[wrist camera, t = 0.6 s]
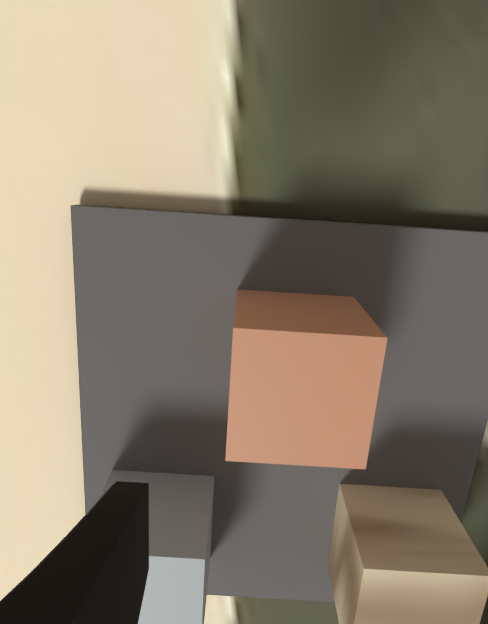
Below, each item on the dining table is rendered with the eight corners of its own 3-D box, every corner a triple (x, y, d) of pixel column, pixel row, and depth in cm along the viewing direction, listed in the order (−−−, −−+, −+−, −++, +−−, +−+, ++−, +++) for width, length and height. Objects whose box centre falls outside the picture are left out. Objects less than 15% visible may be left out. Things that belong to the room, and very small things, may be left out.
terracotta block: (339, 401, 19) (365, 469, 15) (230, 394, 19) (225, 460, 15) (353, 296, 18) (387, 337, 13) (237, 289, 18) (232, 328, 13)
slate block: (210, 557, 21) (200, 654, 17) (114, 551, 21) (79, 648, 17) (214, 476, 20) (204, 559, 16) (111, 469, 20) (74, 551, 16)
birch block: (422, 569, 21) (466, 670, 17) (327, 564, 21) (346, 663, 17) (441, 489, 20) (493, 576, 16) (339, 483, 20) (364, 568, 16)
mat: (436, 599, 23) (440, 608, 22) (92, 578, 23) (89, 587, 22) (525, 233, 17) (533, 235, 17) (75, 204, 17) (70, 205, 17)
